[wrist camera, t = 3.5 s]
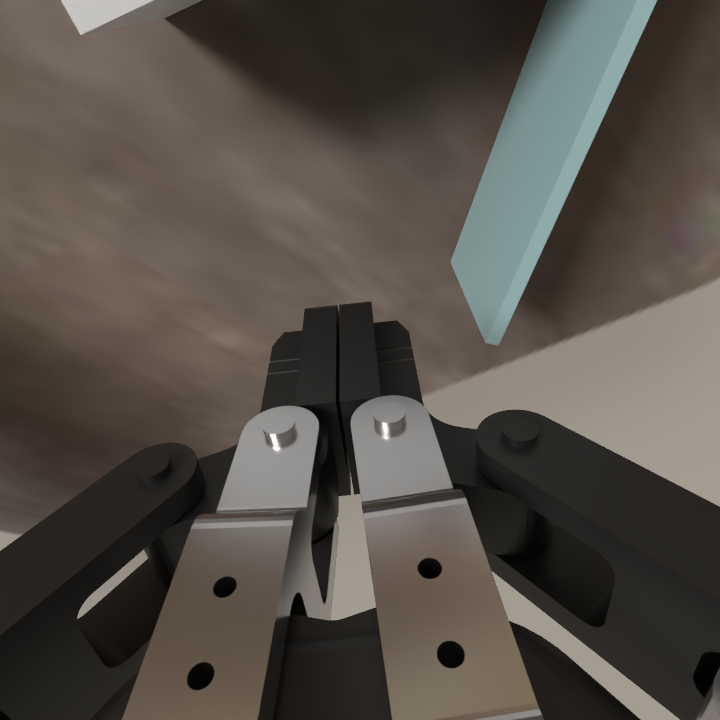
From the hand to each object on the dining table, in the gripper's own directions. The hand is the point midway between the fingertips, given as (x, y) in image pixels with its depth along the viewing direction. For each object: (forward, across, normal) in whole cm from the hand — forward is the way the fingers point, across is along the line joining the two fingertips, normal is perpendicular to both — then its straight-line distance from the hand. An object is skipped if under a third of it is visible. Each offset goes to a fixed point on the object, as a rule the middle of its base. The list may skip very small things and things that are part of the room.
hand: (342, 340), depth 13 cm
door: (+12, -7, -3) cm, 15 cm away
